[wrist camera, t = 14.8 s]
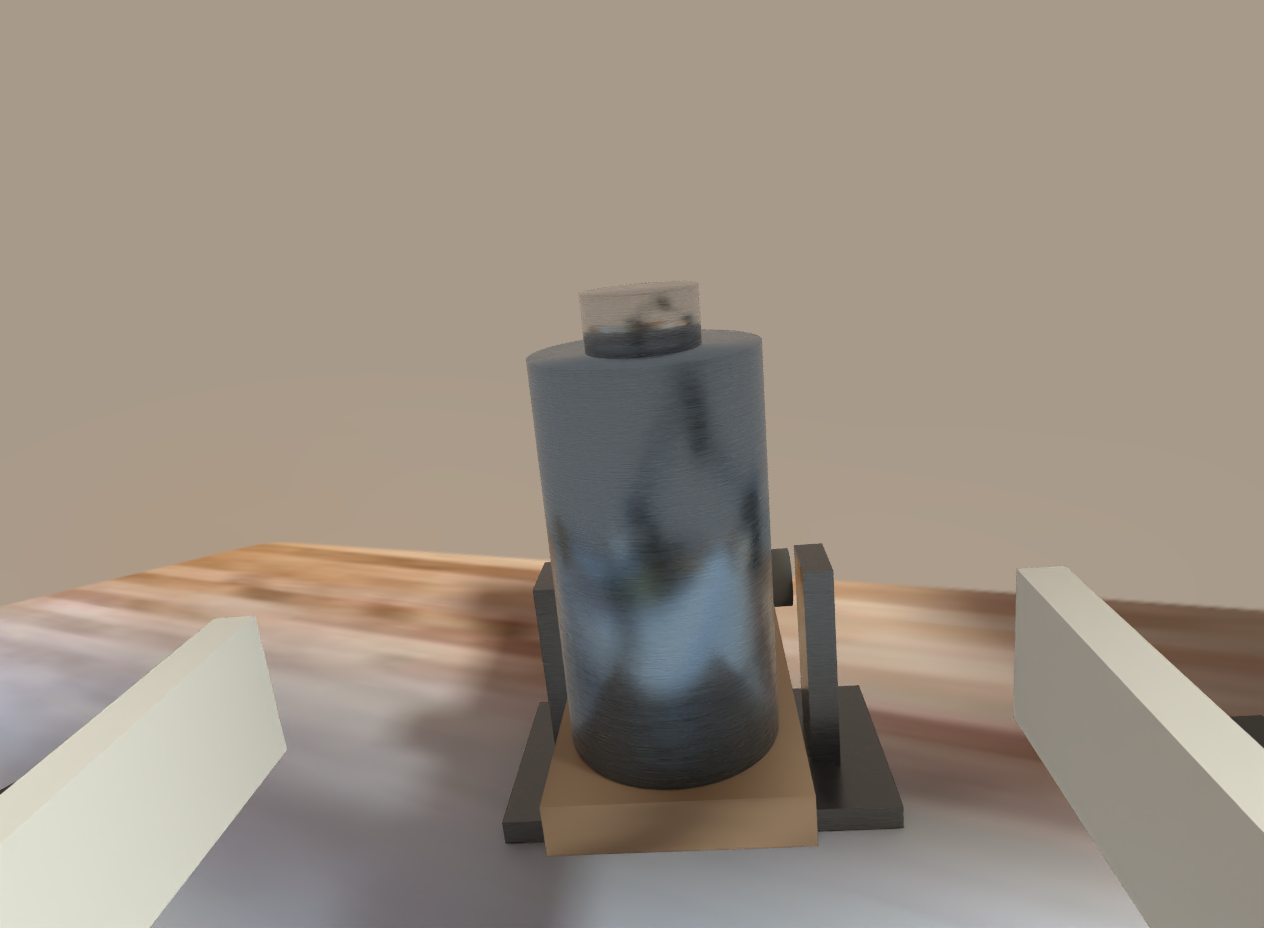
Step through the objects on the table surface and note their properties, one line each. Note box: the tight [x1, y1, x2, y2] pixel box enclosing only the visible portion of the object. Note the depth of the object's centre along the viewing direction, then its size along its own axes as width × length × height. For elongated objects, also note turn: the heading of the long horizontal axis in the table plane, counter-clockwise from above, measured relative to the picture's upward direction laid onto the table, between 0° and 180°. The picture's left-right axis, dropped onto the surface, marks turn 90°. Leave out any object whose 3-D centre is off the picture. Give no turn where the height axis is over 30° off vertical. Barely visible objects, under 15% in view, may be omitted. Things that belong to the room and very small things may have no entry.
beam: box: [540, 548, 818, 856], centre depth 35 cm, size 9×30×6 cm, turn 176°
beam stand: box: [502, 544, 904, 843], centre depth 37 cm, size 16×9×10 cm, turn 86°
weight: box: [526, 281, 779, 790], centre depth 23 cm, size 6×6×12 cm
